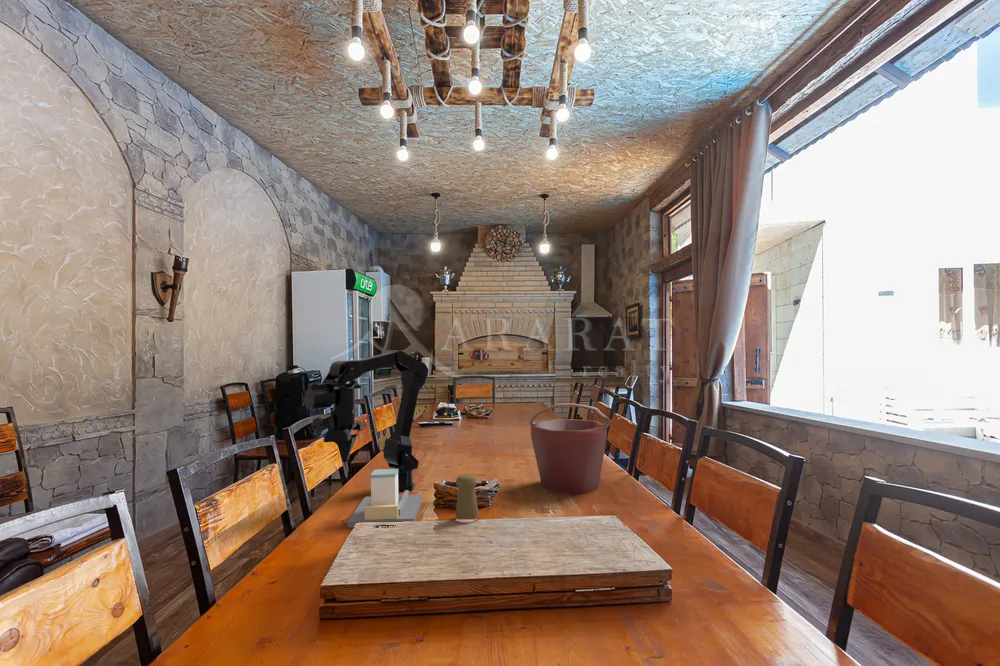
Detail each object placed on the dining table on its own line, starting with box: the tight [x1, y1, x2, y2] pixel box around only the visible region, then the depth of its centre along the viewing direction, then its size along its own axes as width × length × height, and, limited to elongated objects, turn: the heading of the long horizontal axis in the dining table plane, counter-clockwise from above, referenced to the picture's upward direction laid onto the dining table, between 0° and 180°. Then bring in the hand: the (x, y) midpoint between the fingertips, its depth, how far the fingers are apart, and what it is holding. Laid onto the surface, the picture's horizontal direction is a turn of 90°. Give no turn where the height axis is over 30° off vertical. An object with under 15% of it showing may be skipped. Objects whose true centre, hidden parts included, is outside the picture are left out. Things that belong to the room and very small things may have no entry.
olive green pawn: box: [454, 473, 480, 519], centre depth 122 cm, size 6×6×11 cm
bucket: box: [528, 403, 612, 494], centre depth 148 cm, size 24×22×25 cm
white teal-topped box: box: [369, 468, 399, 506], centre depth 124 cm, size 5×6×10 cm
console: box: [347, 490, 423, 529], centre depth 128 cm, size 20×16×4 cm
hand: (344, 461), depth 135 cm, fingers closed
